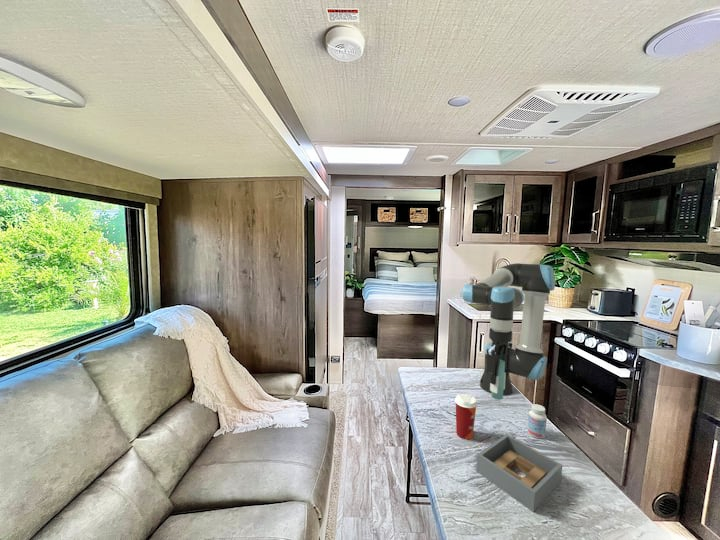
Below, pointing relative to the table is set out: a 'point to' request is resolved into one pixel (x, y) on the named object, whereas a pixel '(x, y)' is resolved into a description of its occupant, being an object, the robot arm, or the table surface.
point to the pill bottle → (537, 421)
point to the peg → (500, 381)
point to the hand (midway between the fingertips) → (497, 389)
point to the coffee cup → (465, 415)
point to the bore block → (521, 468)
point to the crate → (511, 483)
